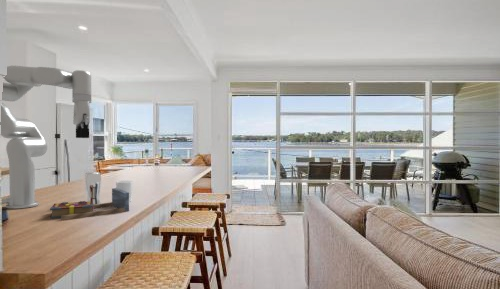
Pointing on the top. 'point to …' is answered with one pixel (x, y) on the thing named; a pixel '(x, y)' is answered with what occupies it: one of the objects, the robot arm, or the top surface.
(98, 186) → the beer glass
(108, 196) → the top surface
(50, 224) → the top surface
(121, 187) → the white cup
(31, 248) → the top surface
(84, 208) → the decorative book
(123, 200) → the guide rails
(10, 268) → the top surface
